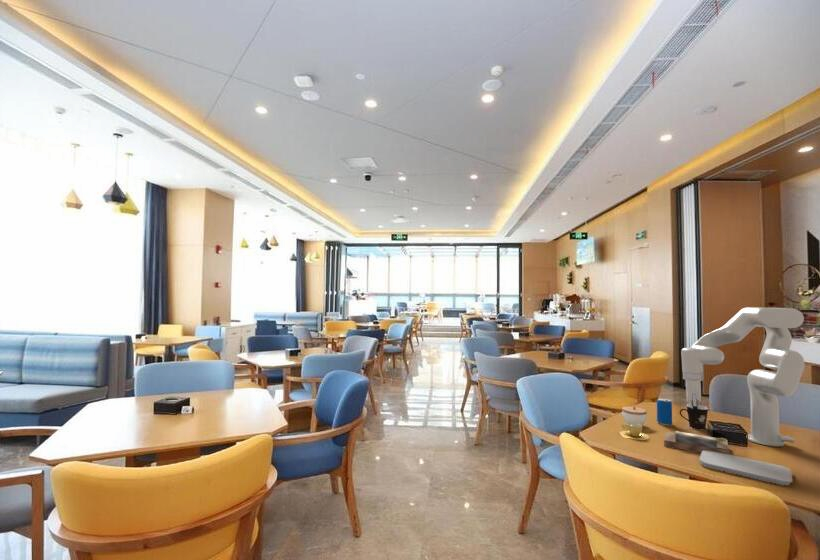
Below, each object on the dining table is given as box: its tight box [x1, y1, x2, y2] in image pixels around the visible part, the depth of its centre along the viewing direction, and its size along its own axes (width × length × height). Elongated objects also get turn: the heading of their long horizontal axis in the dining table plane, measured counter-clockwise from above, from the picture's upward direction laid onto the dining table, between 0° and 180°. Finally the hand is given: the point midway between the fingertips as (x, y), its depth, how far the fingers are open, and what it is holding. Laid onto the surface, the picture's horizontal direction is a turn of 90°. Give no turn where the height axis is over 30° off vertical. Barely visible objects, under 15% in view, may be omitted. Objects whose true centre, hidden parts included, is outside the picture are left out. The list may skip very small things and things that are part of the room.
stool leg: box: [675, 430, 729, 449], centre depth 168 cm, size 18×3×4 cm, turn 55°
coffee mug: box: [679, 403, 709, 430], centre depth 198 cm, size 12×9×10 cm
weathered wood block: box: [663, 431, 731, 455], centre depth 172 cm, size 22×13×6 cm, turn 54°
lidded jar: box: [621, 405, 648, 425], centre depth 200 cm, size 11×11×9 cm
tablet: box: [699, 450, 793, 486], centre depth 150 cm, size 16×26×2 cm, turn 49°
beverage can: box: [656, 397, 673, 426], centre depth 203 cm, size 6×6×12 cm
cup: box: [619, 422, 650, 441], centre depth 185 cm, size 12×12×5 cm
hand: (695, 417), depth 179 cm, fingers closed
